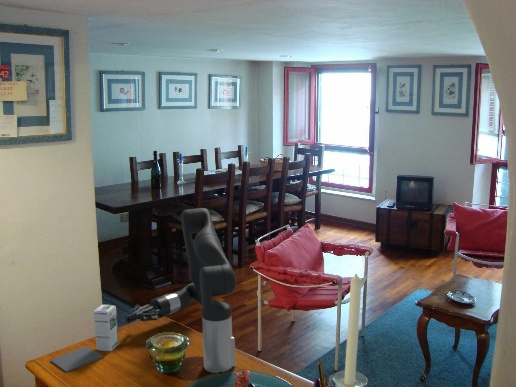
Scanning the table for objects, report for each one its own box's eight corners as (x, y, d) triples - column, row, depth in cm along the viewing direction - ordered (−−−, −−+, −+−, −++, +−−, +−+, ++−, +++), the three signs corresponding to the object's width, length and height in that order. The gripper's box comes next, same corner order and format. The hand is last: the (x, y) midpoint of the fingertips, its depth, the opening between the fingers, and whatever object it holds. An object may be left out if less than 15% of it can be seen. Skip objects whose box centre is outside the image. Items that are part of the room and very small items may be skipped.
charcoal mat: (86, 347, 184) (86, 345, 183) (103, 357, 176) (103, 356, 176) (50, 361, 174) (50, 359, 174) (66, 372, 167) (66, 371, 167)
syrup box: (111, 351, 180) (109, 311, 177) (95, 350, 181) (92, 310, 179) (119, 344, 186) (116, 305, 183) (103, 342, 187) (101, 303, 184)
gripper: (154, 291, 204) (115, 304, 191) (175, 300, 195) (135, 314, 182) (155, 310, 205) (116, 324, 193) (176, 319, 196) (137, 335, 184)
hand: (125, 319), depth 188 cm, fingers closed
